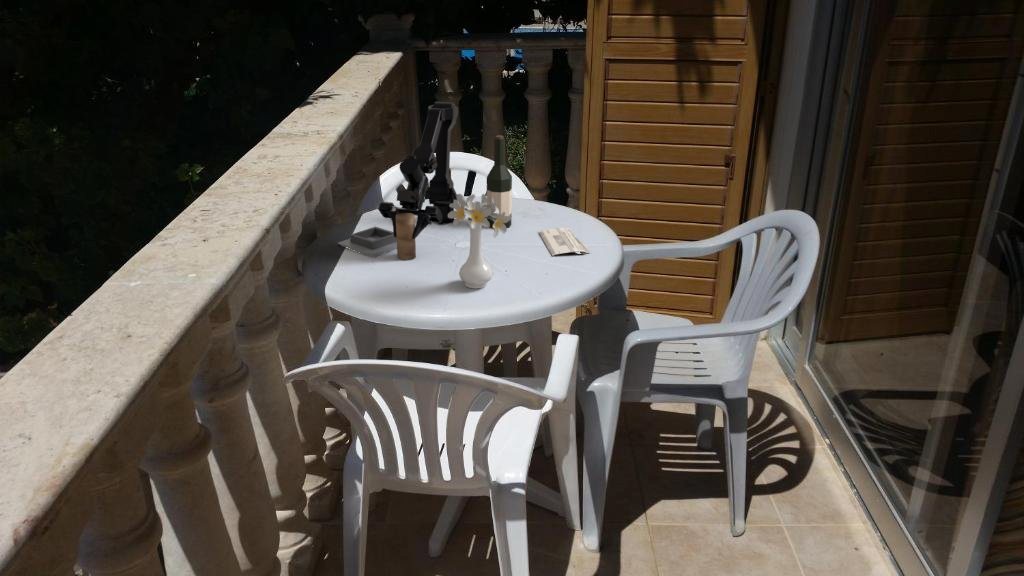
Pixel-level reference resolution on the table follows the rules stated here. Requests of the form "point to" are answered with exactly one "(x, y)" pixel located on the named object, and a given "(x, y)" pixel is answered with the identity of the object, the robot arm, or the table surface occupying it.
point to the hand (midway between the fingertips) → (404, 237)
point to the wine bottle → (500, 182)
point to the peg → (405, 236)
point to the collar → (371, 241)
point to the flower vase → (477, 236)
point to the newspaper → (562, 241)
